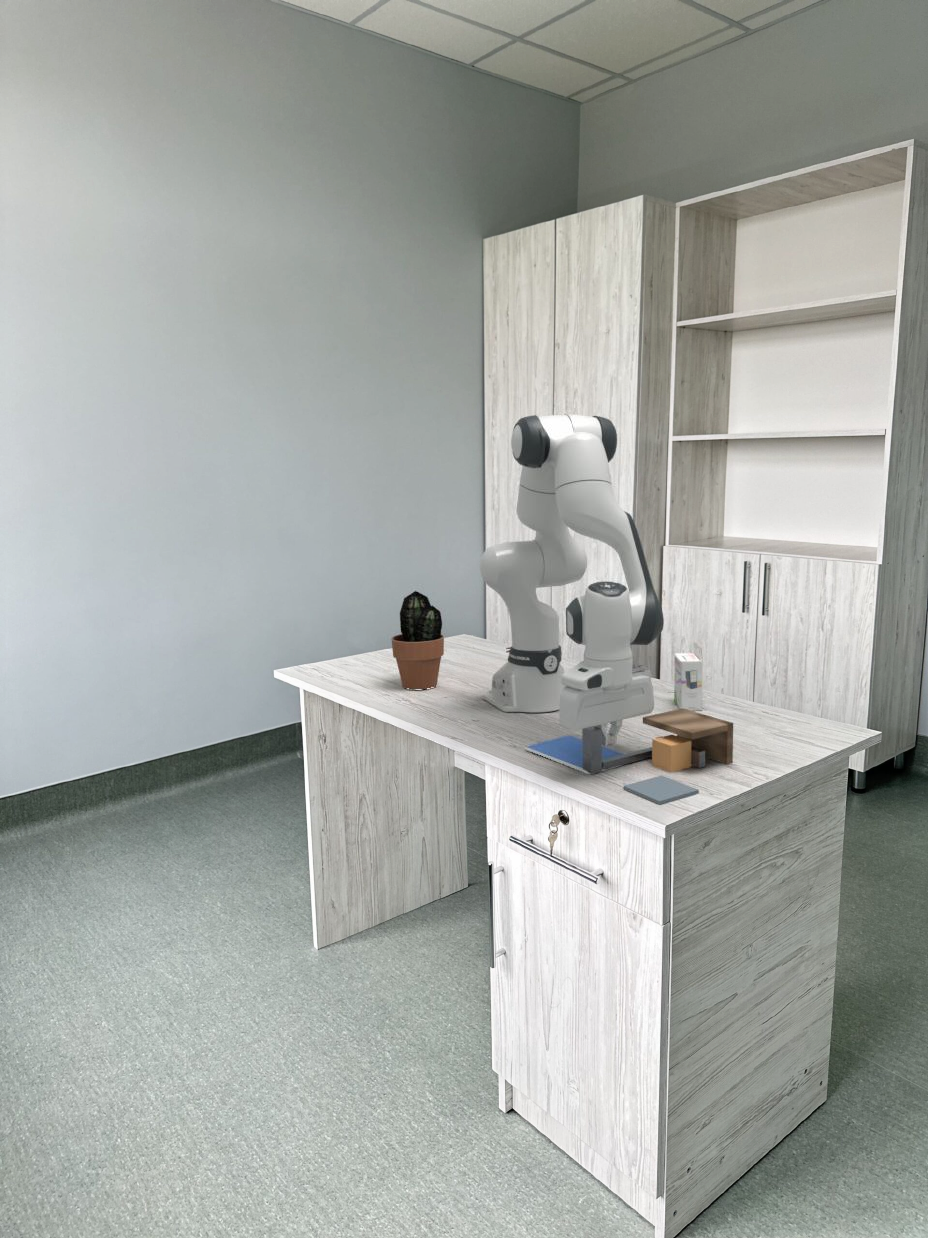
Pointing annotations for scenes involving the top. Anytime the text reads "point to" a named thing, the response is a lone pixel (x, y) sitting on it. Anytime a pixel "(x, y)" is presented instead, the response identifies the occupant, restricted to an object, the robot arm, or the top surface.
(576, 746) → the blue flat slab
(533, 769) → the top surface
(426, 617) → the potted plant
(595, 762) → the grey u-shaped bracket
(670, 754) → the orange block
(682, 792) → the slate mat
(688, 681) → the ink box
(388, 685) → the top surface
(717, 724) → the walnut shelf
